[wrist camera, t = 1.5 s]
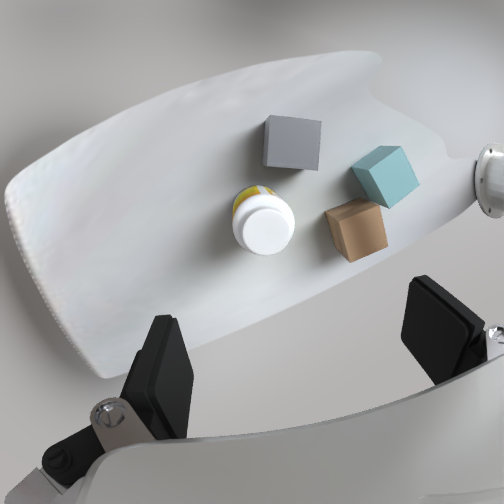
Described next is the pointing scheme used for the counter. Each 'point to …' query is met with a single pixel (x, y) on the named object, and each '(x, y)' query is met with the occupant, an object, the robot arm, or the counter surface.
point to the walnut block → (357, 229)
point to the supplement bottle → (262, 221)
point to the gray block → (291, 142)
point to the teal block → (386, 175)
